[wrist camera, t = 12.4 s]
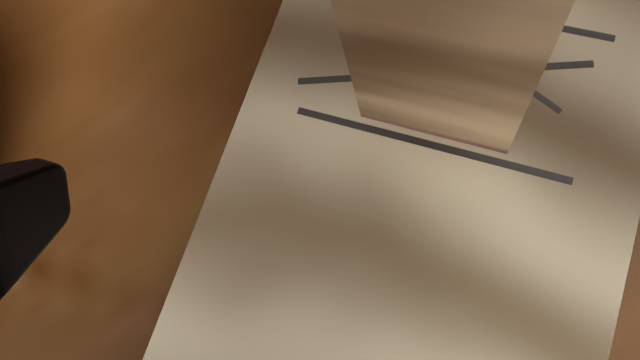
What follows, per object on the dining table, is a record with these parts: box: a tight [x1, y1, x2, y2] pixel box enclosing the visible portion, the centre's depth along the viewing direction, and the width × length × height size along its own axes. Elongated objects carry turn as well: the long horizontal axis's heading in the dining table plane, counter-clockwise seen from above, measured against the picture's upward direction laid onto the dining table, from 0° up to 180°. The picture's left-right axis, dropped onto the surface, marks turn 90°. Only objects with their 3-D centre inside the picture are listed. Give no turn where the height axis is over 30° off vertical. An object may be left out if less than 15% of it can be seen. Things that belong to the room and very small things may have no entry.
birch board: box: [143, 0, 640, 360], centre depth 19 cm, size 24×13×1 cm, turn 161°
